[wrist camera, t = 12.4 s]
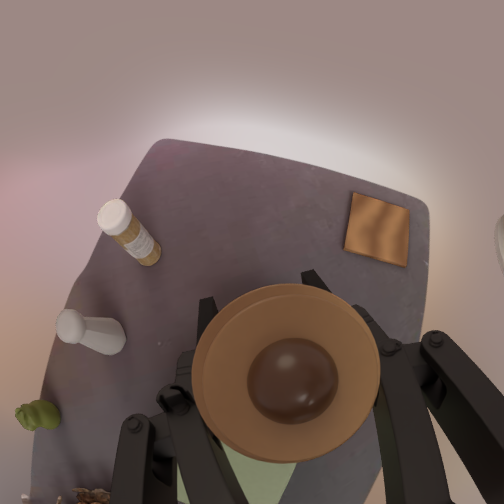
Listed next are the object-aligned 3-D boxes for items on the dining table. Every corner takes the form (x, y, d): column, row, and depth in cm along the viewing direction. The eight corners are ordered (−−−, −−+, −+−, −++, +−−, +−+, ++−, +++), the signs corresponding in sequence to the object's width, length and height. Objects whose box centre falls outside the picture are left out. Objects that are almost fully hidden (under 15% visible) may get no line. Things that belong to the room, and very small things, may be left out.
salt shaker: (106, 316, 39) (55, 295, 27) (134, 325, 38) (85, 307, 26) (98, 349, 37) (45, 339, 25) (126, 361, 36) (74, 354, 24)
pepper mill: (314, 345, 21) (443, 282, 4) (296, 401, 20) (374, 516, 3) (257, 329, 22) (208, 218, 5) (238, 384, 21) (125, 450, 4)
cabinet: (202, 386, 34) (186, 391, 27) (302, 417, 32) (310, 430, 25) (172, 471, 29) (153, 489, 22) (266, 502, 26) (265, 527, 19)
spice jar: (134, 249, 43) (93, 208, 31) (157, 237, 44) (122, 191, 32) (142, 271, 42) (98, 235, 29) (166, 259, 42) (128, 217, 30)
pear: (69, 414, 32) (31, 418, 23) (61, 433, 30) (24, 439, 21) (51, 394, 33) (13, 393, 24) (43, 413, 32) (7, 414, 23)
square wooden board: (407, 212, 43) (409, 210, 42) (404, 268, 39) (406, 266, 38) (352, 194, 45) (353, 192, 44) (343, 250, 41) (344, 247, 40)
